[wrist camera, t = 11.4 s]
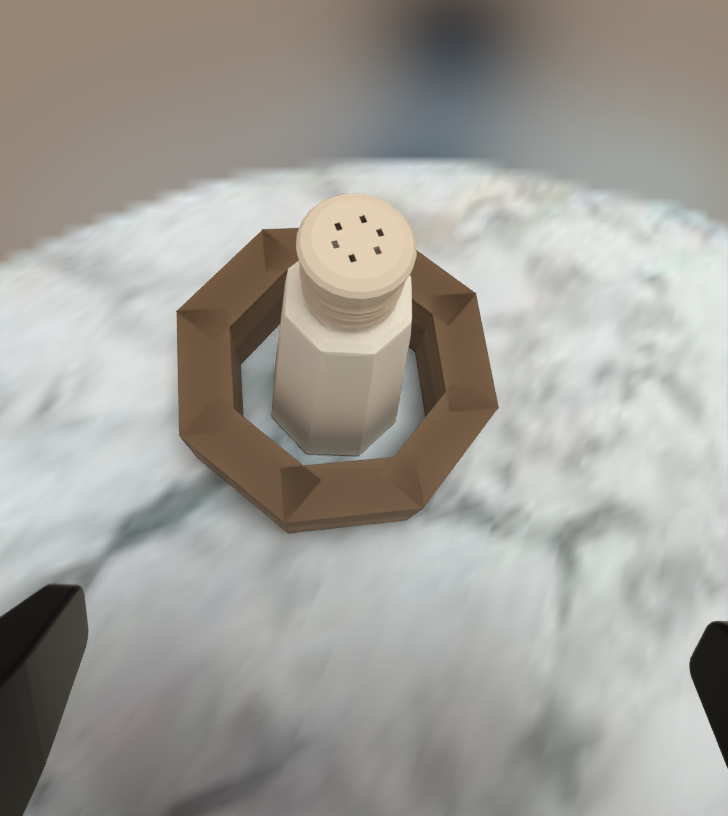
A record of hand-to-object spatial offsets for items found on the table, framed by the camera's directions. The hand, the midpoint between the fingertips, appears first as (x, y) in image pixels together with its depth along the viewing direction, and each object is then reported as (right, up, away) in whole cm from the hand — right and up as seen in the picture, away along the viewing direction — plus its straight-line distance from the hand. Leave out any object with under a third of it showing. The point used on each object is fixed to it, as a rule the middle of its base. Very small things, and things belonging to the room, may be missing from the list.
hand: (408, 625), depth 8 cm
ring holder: (-2, +4, +15) cm, 16 cm away
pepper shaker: (-2, +4, +15) cm, 16 cm away
